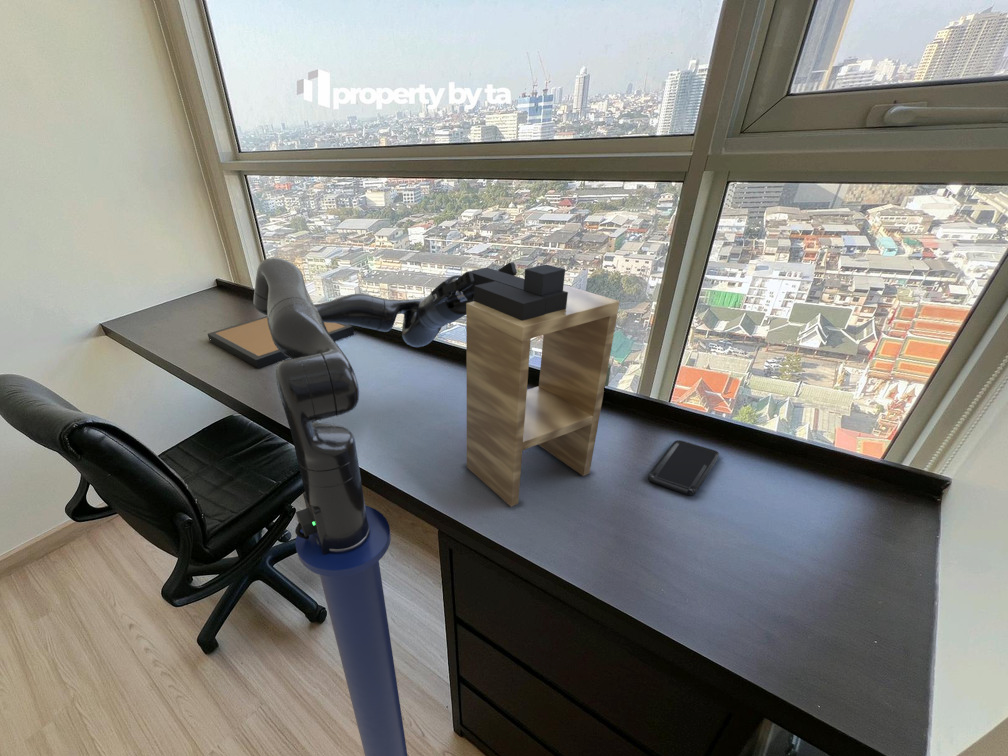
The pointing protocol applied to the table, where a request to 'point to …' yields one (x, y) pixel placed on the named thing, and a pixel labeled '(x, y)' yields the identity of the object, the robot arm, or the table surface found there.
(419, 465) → the table surface
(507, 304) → the pad
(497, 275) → the pad
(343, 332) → the cork board
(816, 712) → the table surface
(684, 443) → the phone
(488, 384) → the shelf
